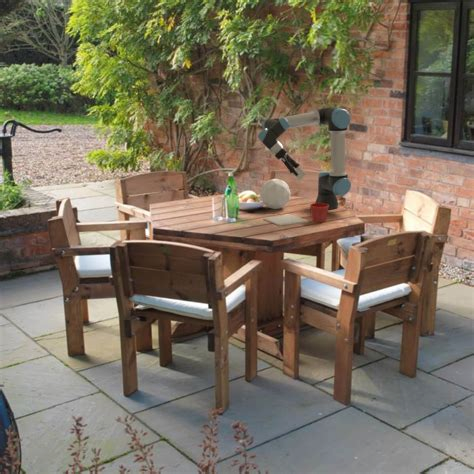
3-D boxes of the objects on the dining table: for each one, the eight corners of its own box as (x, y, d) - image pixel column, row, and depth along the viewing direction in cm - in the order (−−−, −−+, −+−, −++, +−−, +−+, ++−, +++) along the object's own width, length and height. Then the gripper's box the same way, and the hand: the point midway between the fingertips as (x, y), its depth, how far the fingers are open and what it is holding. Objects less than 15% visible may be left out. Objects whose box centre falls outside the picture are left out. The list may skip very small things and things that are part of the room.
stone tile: (291, 215, 448) (291, 214, 448) (308, 222, 433) (308, 220, 433) (263, 219, 438) (263, 218, 438) (279, 225, 423) (279, 224, 423)
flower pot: (327, 223, 431) (328, 207, 428) (308, 222, 433) (309, 206, 430) (328, 219, 441) (329, 203, 438) (310, 218, 443) (311, 202, 440)
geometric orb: (278, 216, 475) (294, 191, 477) (281, 212, 455) (297, 185, 457) (253, 201, 475) (269, 176, 477) (255, 196, 455) (272, 170, 457)
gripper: (277, 152, 444) (301, 177, 445) (270, 158, 421) (295, 185, 422) (286, 144, 442) (310, 169, 443) (279, 149, 418) (304, 176, 419)
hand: (303, 177), depth 432 cm, fingers open, 13 cm apart
